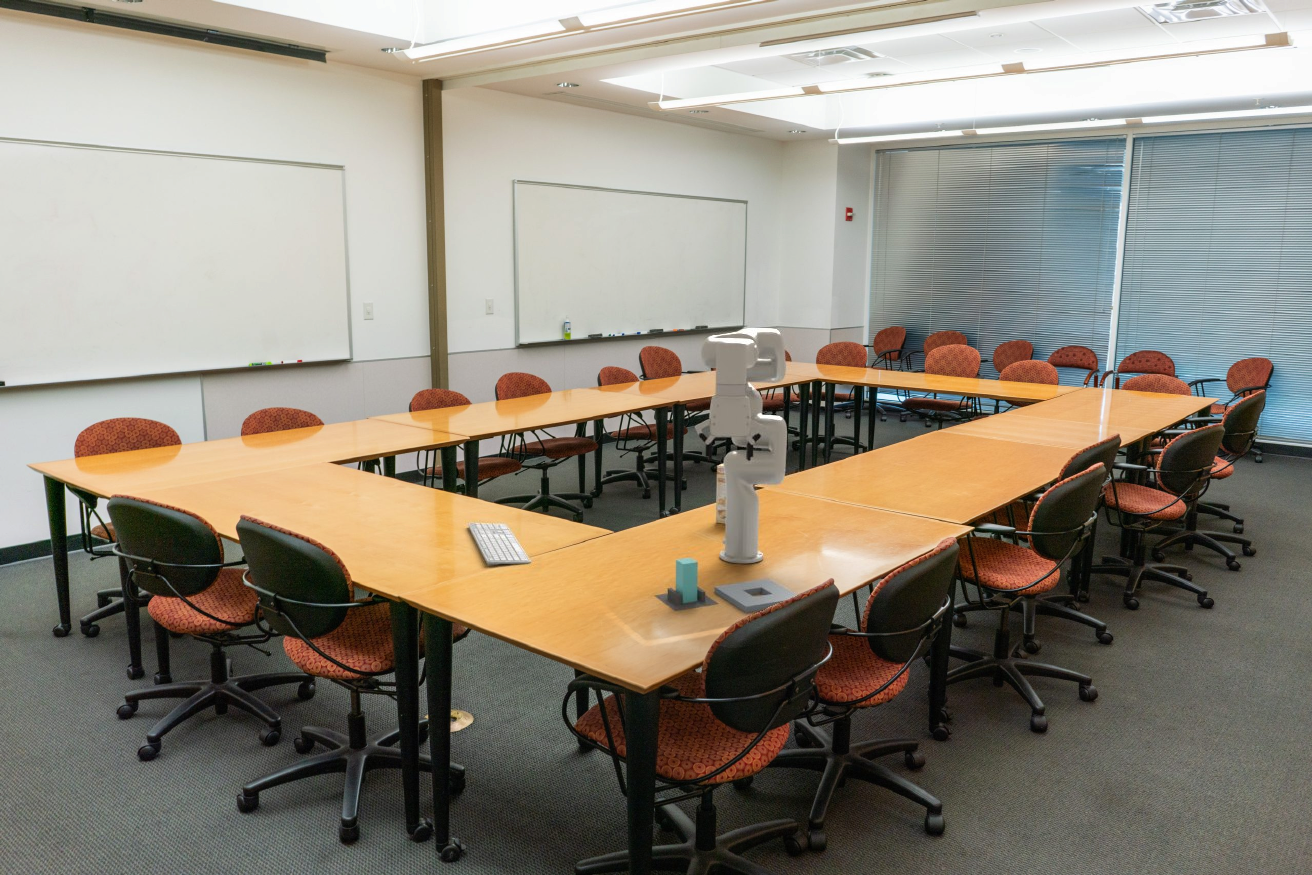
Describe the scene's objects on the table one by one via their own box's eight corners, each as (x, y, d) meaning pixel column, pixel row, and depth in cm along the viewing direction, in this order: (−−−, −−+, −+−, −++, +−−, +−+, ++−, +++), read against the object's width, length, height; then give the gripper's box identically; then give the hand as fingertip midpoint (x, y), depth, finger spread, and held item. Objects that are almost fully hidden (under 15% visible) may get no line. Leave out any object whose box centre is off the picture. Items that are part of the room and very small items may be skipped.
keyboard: (531, 565, 262) (531, 557, 262) (487, 569, 258) (487, 560, 258) (506, 526, 303) (506, 519, 303) (467, 528, 299) (467, 521, 299)
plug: (675, 598, 231) (675, 559, 229) (689, 595, 233) (690, 557, 231) (682, 603, 227) (683, 564, 226) (697, 600, 229) (697, 562, 227)
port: (714, 595, 236) (714, 586, 235) (767, 587, 242) (768, 578, 242) (746, 616, 221) (746, 606, 221) (802, 607, 228) (802, 597, 228)
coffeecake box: (733, 525, 304) (735, 467, 300) (714, 522, 307) (715, 465, 304) (753, 516, 316) (755, 460, 313) (735, 513, 320) (736, 458, 316)
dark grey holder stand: (654, 599, 233) (654, 585, 232) (696, 592, 238) (696, 579, 237) (675, 614, 222) (675, 600, 222) (718, 607, 227) (719, 594, 227)
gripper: (763, 390, 231) (761, 457, 233) (694, 389, 230) (693, 457, 233) (767, 393, 223) (765, 462, 226) (696, 392, 223) (695, 462, 226)
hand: (729, 459), depth 229 cm, fingers open, 9 cm apart
